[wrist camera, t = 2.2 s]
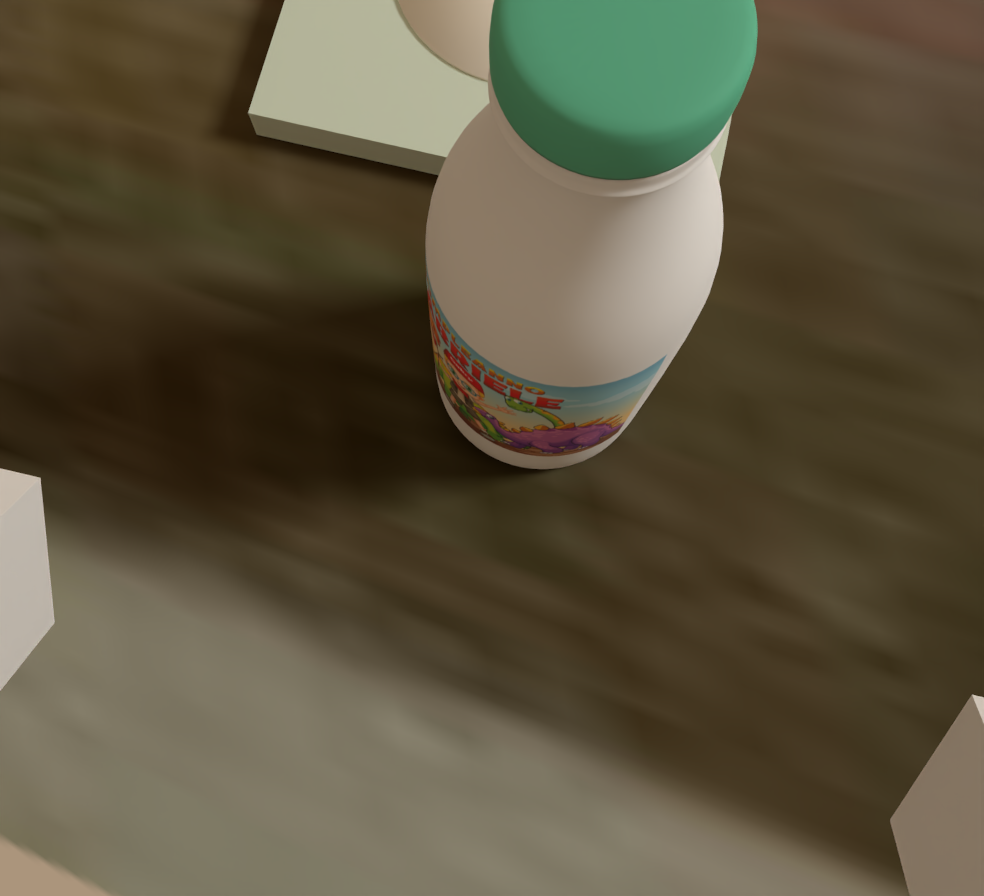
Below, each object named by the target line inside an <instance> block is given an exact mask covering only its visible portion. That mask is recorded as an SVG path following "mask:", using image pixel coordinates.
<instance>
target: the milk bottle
mask: <svg viewBox="0 0 984 896" xmlns="http://www.w3.org/2000/svg"><path fill="white" fill-rule="evenodd" d="M756 46H757V15H756V8H755V4H754V0H494V3H493V8H492V15H491V24H490V33H489V64H490V67H489V73H488V94H489V101H490V103H489V104H487V105H486V106H485V107H484V108H483V109H482V110H481V111H480V112H479V113H478V114H477V115H476V116H475V117H474V118H473V120H472V121H471V122H470V123H469V124H468V125H467V127H466V128H465V129H464V130H463V132H462V133H461V135H460V136H459V138H458V139H457V141H456V142H455V144H454V145H453V147H452V149H451V150H450V152H449V154H448V156H447V158H446V160H445V161H444V164H443V166H442V169H441V171H440V174H439V176H438V179H437V181H436V184H435V187H434V191H433V194H432V198H431V203H430V208H429V214H428V220H427V226H426V280H427V292H428V303H429V315H430V325H431V334H432V344H433V353H434V361H435V369H436V376H437V382H438V386H439V390H440V394H441V398H442V400H443V403H444V406H445V408H446V410H447V412H448V414H449V416H450V417H451V419H452V421H453V422H454V424H455V425H456V427H457V428H458V429H459V430H460V432H461V433H462V434H463V435H464V436H465V437H466V438H467V439H468V440H469V441H470V442H471V443H472V444H474V445H475V446H476V447H477V448H479V449H480V450H482V451H483V452H485V453H486V454H488V455H490V456H491V457H493V458H496V459H498V460H500V461H502V462H505V463H508V464H511V465H515V466H519V467H523V468H531V469H554V468H561V467H566V466H570V465H574V464H576V463H579V462H582V461H584V460H586V459H588V458H591V457H593V456H594V455H596V454H598V453H599V452H601V451H602V450H604V449H605V448H606V447H608V446H609V445H610V444H611V443H612V442H613V441H614V440H615V439H616V438H617V437H618V436H619V435H620V434H621V433H622V432H623V430H624V429H625V428H626V427H627V426H628V425H629V423H630V422H631V420H632V419H633V418H634V416H635V415H636V413H637V412H638V410H639V409H640V407H641V406H642V405H643V403H644V402H645V400H646V399H647V397H648V396H649V394H650V393H651V391H652V390H653V388H654V387H655V385H656V384H657V382H658V381H659V379H660V378H661V376H662V375H663V373H664V372H665V370H666V369H667V367H668V366H669V364H670V362H671V361H672V359H673V358H674V356H675V355H676V353H677V352H678V350H679V348H680V347H681V345H682V344H683V342H684V341H685V339H686V337H687V335H688V334H689V332H690V330H691V328H692V326H693V325H694V323H695V321H696V319H697V317H698V315H699V313H700V312H701V310H702V308H703V306H704V304H705V302H706V299H707V297H708V295H709V293H710V290H711V286H712V283H713V280H714V277H715V274H716V270H717V267H718V263H719V258H720V253H721V245H722V235H723V207H722V198H721V190H720V185H719V181H718V177H717V173H716V170H715V167H714V164H713V161H712V158H711V155H710V154H711V152H712V151H713V150H714V148H715V147H716V145H717V144H718V142H719V140H720V139H721V136H722V134H723V132H724V130H725V127H726V124H727V121H728V120H729V118H730V116H731V115H732V113H733V111H734V109H735V107H736V106H737V104H738V102H739V100H740V98H741V96H742V93H743V91H744V89H745V86H746V83H747V81H748V78H749V76H750V73H751V70H752V67H753V64H754V59H755V54H756Z"/></svg>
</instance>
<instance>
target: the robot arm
mask: <svg viewBox="0 0 984 896" xmlns="http://www.w3.org/2000/svg"><path fill="white" fill-rule="evenodd" d="M54 623H55V622H54V612H53V601H52V591H51V581H50V571H49V560H48V550H47V540H46V529H45V519H44V509H43V498H42V488H41V478H39V477H35V476H31V475H26V474H22V473H18V472H13V471H9V470H5V469H0V690H1V689H2V688H3V687H4V685H5V684H6V683H7V682H8V680H9V679H10V678H11V677H12V675H13V674H14V673H15V672H16V670H17V669H18V668H19V667H20V665H21V664H22V663H23V662H24V660H25V659H26V658H27V657H28V655H29V654H30V653H31V652H32V650H33V649H34V648H35V647H36V645H37V644H38V643H39V642H40V640H41V639H42V638H43V637H44V635H45V634H46V633H47V631H48V630H49V629H50V628H51V626H52V625H53V624H54ZM890 822H891V826H892V830H893V834H894V837H895V841H896V845H897V849H898V853H899V856H900V860H901V864H902V868H903V872H904V875H905V879H906V883H907V887H908V891H909V894H910V896H984V697H980V696H976V695H971V697H970V698H969V700H968V701H967V703H966V705H965V706H964V708H963V709H962V711H961V712H960V714H959V715H958V717H957V718H956V720H955V721H954V723H953V724H952V726H951V727H950V729H949V731H948V732H947V734H946V735H945V737H944V738H943V740H942V741H941V743H940V744H939V746H938V747H937V749H936V750H935V752H934V753H933V755H932V757H931V758H930V760H929V761H928V763H927V764H926V766H925V767H924V769H923V770H922V772H921V773H920V775H919V776H918V778H917V779H916V781H915V783H914V784H913V786H912V787H911V789H910V790H909V792H908V793H907V795H906V796H905V798H904V799H903V801H902V802H901V804H900V805H899V807H898V809H897V810H896V812H895V813H894V815H893V816H892V818H891V819H890Z"/></svg>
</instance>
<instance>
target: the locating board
mask: <svg viewBox="0 0 984 896" xmlns="http://www.w3.org/2000/svg"><path fill="white" fill-rule="evenodd" d="M493 3H494V0H285V1H284V4H283V7H282V10H281V13H280V16H279V19H278V22H277V26H276V29H275V32H274V35H273V38H272V41H271V44H270V47H269V50H268V53H267V56H266V59H265V62H264V65H263V68H262V72H261V75H260V78H259V81H258V84H257V87H256V90H255V93H254V96H253V99H252V102H251V105H250V108H249V111H248V114H249V117H250V119H251V122H252V124H253V127H254V129H255V132H256V134H257V135H260V136H265V137H269V138H274V139H278V140H283V141H287V142H292V143H296V144H301V145H305V146H310V147H314V148H319V149H323V150H327V151H332V152H336V153H341V154H345V155H350V156H354V157H359V158H363V159H368V160H372V161H377V162H381V163H386V164H390V165H395V166H399V167H404V168H408V169H413V170H417V171H422V172H426V173H430V174H435V175H439V174H440V171H441V169H442V166H443V164H444V161H445V160H446V158H447V156H448V154H449V152H450V150H451V149H452V147H453V145H454V144H455V142H456V141H457V139H458V138H459V136H460V135H461V133H462V132H463V130H464V129H465V128H466V127H467V125H468V124H469V123H470V122H471V121H472V120H473V118H474V117H475V116H476V115H477V114H478V113H479V112H480V111H481V110H482V109H483V108H484V107H485V106H486V105H487V104H489V103H490V101H489V94H488V73H489V67H490V64H489V33H490V24H491V15H492V8H493ZM731 117H732V115H731V116H730V118H729V120H728V121H727V124H726V127H725V130H724V132H723V134H722V136H721V139H720V140H719V142H718V144H717V145H716V147H715V148H714V150H713V151H712V152H711V154H710V155H711V158H712V161H713V164H714V167H715V170H716V173H717V177H718V181H719V179H720V174H721V169H722V163H723V158H724V153H725V148H726V143H727V138H728V132H729V127H730V122H731Z"/></svg>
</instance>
